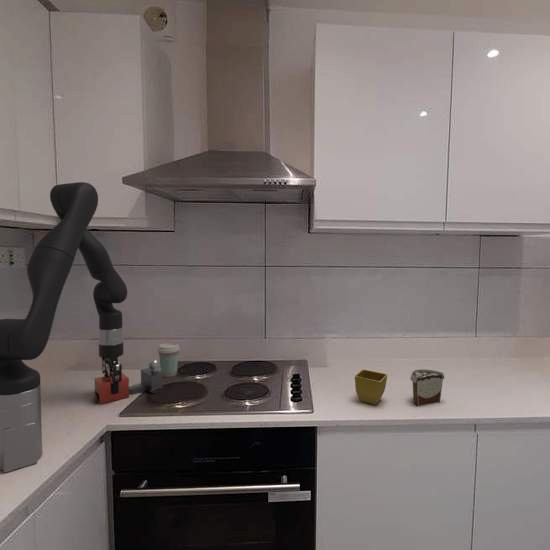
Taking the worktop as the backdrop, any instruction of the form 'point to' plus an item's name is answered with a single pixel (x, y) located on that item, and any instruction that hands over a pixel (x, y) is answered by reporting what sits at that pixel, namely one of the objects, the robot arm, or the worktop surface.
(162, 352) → the coffee cup
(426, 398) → the food container
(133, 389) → the grey bar with block
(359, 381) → the flower pot
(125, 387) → the red box with knob
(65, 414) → the worktop surface
